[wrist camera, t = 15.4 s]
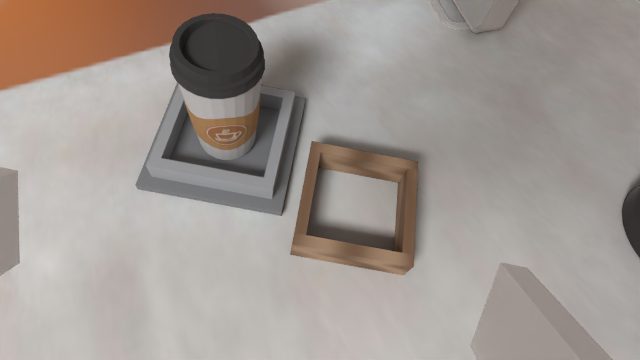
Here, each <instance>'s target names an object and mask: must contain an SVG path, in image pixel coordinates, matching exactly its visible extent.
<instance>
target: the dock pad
mask: <svg viewBox="0 0 640 360" xmlns="http://www.w3.org/2000/svg"><path fill="white" fill-rule="evenodd" d="M304 105H305V98H300V97H295V92H293V91H288V90H283V89H278V88H273V87H268V86H263V85H261V88H260V106H259V115H258V124H257V127H256V136H255V141H254V144H253V146H252V148H251V149H250V150H249V151H248V152H247V153H246V154H244V155H243V156H241V157H239V158H237V159H233V160H222V159H218V158H215V157H213V156H211V155H209V154H208V153H207V152H206V151H205V150H204V149H203V147H202V146H201V144H200V141H199V139H198V136H197V133H196V131H195V130H194V127H193V124H192V122H191V119H190V116H189V114H188V111H187V108H186V106H185V102H184V98H183V95H182V92H181V90H180V87H179V84H178V82H177V85H176V87H175V90H174V92H173V95H172V97H171V100H170V102H169V104H168V107H167V109H166V112H165V114H164V117H163V119H162V122H161V124H160V126H159V129H158V131H157V134H156V136H155V139H154V141H153V144H152V146H151V148H150V151H149V153H148V156H147V158H146V161H145V163H144V166H143V168H142V170H141V173H140V175H139V178H138V180H137V183H136V187H137V188H138V189H141V190H146V191H151V192H157V193H162V194H168V195H173V196H178V197H184V198H189V199H194V200H200V201H205V202H211V203H216V204H221V205H227V206H232V207H237V208H243V209H248V210H254V211H259V212H264V213H270V214H275V215H280V216H281V214H282V210H283V205H284V200H285V195H286V191H287V186H288V181H289V176H290V172H291V167H292V162H293V157H294V153H295V148H296V143H297V138H298V134H299V129H300V124H301V119H302V115H303V110H304Z"/></svg>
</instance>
